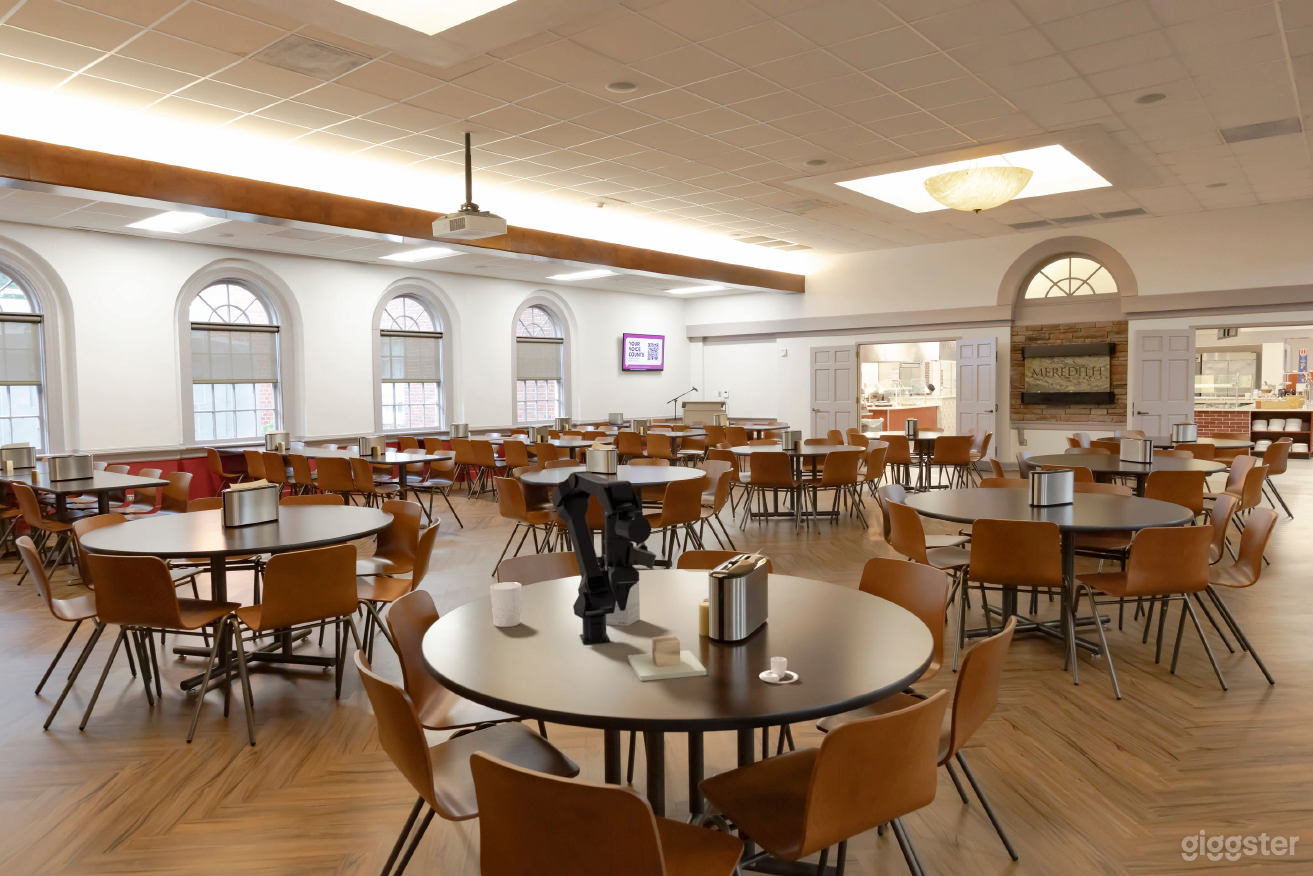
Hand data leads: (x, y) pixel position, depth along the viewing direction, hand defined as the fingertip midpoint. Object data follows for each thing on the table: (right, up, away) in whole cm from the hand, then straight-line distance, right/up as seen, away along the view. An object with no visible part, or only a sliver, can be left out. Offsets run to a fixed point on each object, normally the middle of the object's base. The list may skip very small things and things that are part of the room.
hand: (619, 605), depth 187 cm
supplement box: (-1, -10, +27) cm, 29 cm away
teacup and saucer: (+31, -12, -16) cm, 37 cm away
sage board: (+11, -11, -9) cm, 18 cm away
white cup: (-30, -10, +27) cm, 42 cm away
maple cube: (+11, -10, -9) cm, 17 cm away
